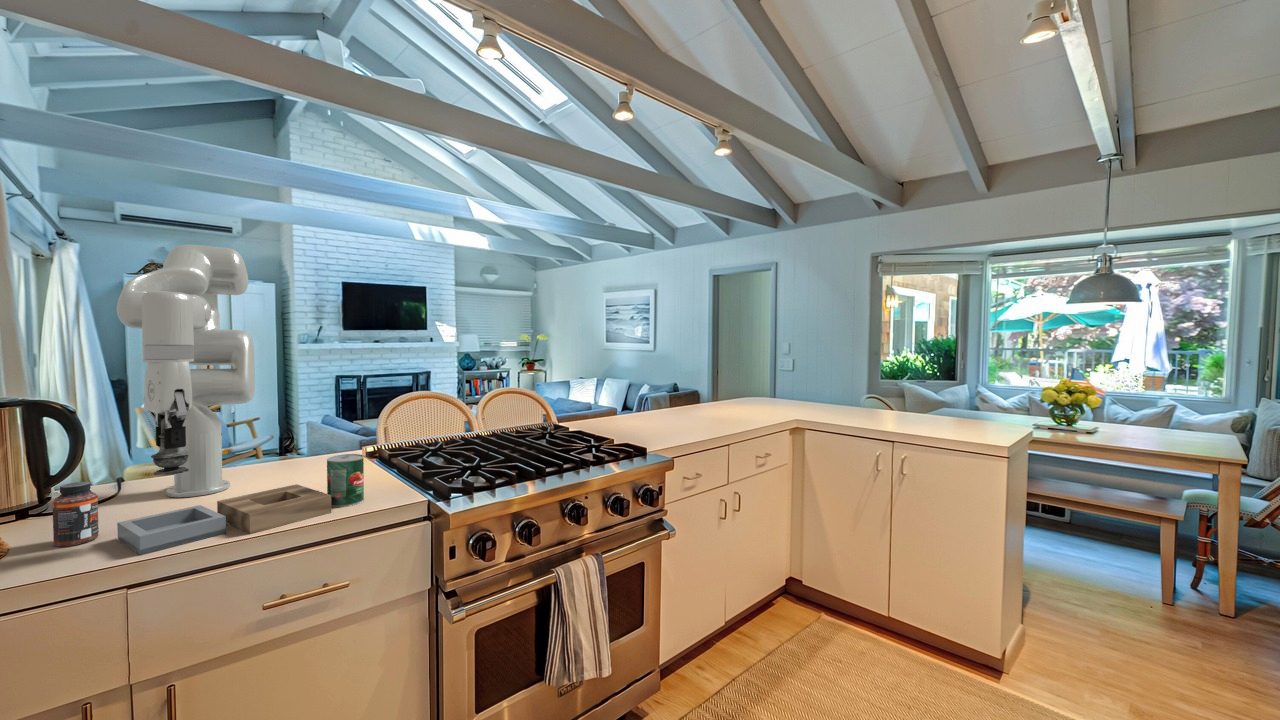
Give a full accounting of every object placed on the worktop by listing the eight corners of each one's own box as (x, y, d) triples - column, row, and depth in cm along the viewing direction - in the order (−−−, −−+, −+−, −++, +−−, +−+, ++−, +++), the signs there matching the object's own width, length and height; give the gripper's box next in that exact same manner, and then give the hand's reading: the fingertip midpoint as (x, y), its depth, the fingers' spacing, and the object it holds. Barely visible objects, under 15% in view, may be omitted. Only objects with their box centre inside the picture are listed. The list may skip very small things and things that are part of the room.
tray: (117, 540, 101) (117, 522, 101) (200, 520, 112) (200, 505, 112) (140, 555, 95) (139, 536, 94) (226, 533, 106) (225, 516, 105)
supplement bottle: (99, 541, 101) (98, 483, 100) (53, 550, 96) (51, 490, 96) (98, 533, 105) (96, 478, 104) (53, 541, 100) (52, 484, 100)
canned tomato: (365, 503, 125) (365, 458, 125) (327, 509, 121) (326, 462, 121) (362, 495, 132) (362, 452, 132) (326, 500, 128) (326, 456, 127)
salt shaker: (167, 476, 99) (165, 414, 99) (143, 474, 101) (141, 413, 100) (198, 469, 105) (197, 410, 105) (175, 467, 106) (174, 409, 106)
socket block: (217, 518, 114) (217, 500, 114) (296, 500, 127) (296, 484, 127) (250, 534, 105) (249, 514, 105) (331, 512, 119) (331, 495, 119)
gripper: (129, 353, 103) (131, 444, 104) (159, 355, 95) (161, 455, 95) (177, 353, 110) (179, 439, 110) (209, 355, 101) (211, 448, 102)
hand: (170, 445), depth 103 cm, fingers closed on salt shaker, 3 cm apart
